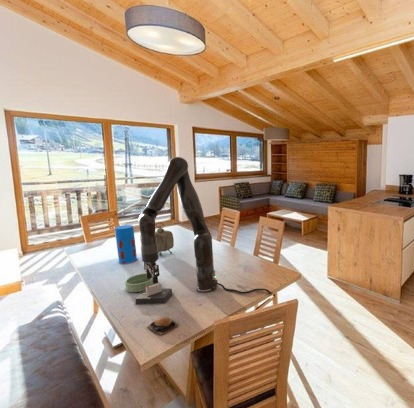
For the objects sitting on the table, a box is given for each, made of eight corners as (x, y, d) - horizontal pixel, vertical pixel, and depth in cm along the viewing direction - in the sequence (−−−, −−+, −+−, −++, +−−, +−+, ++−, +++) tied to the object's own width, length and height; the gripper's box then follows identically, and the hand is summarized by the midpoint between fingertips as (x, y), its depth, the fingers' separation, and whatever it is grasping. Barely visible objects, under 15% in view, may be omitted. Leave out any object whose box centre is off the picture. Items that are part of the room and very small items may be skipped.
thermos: (130, 263, 192) (126, 229, 187) (115, 263, 192) (110, 229, 187) (140, 257, 202) (136, 225, 198) (125, 257, 203) (121, 224, 198)
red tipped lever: (160, 290, 149) (159, 282, 148) (161, 291, 148) (160, 283, 147) (146, 295, 144) (145, 286, 143) (147, 296, 142) (146, 287, 142)
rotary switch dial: (172, 293, 152) (172, 287, 152) (163, 303, 141) (163, 298, 141) (146, 293, 151) (145, 288, 151) (135, 304, 140) (134, 299, 140)
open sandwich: (146, 328, 122) (145, 320, 121) (165, 318, 129) (164, 311, 128) (160, 336, 116) (159, 328, 116) (178, 325, 123) (177, 318, 123)
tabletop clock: (174, 253, 212) (172, 221, 208) (166, 257, 204) (163, 224, 199) (158, 251, 215) (155, 220, 210) (149, 256, 206) (146, 223, 202)
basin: (160, 280, 167) (159, 273, 166) (148, 292, 152) (147, 284, 151) (135, 281, 166) (134, 273, 165) (120, 293, 151) (119, 285, 150)
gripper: (163, 252, 140) (165, 282, 142) (152, 246, 149) (154, 274, 152) (146, 256, 134) (149, 287, 137) (136, 249, 143) (139, 279, 146)
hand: (152, 280), depth 144 cm, fingers open, 8 cm apart
